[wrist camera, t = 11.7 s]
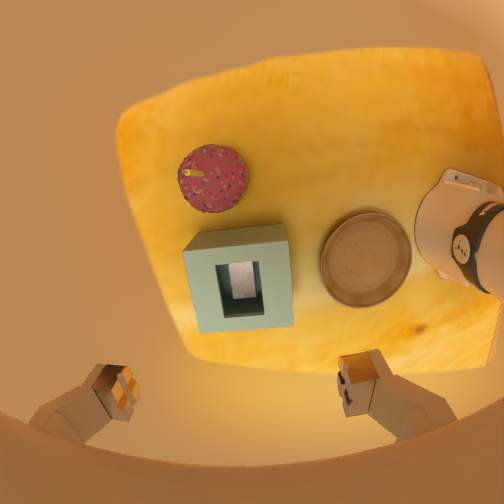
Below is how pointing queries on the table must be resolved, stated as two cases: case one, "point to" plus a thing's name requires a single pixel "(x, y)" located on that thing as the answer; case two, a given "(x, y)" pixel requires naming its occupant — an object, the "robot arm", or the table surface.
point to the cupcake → (213, 178)
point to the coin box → (219, 283)
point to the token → (243, 279)
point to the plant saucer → (366, 260)
